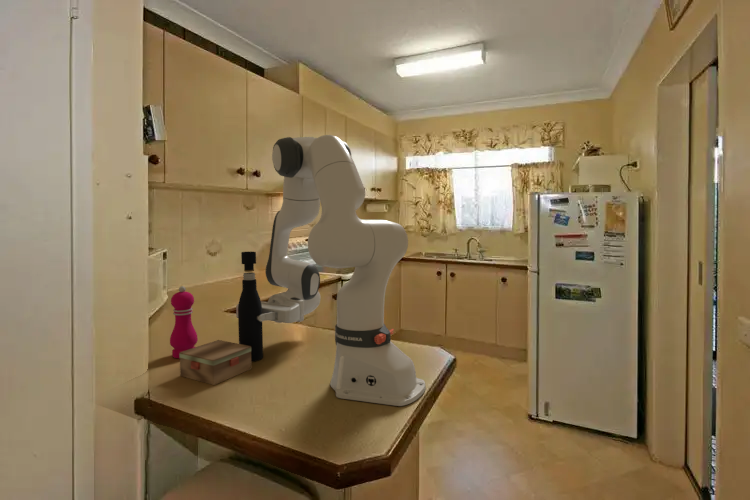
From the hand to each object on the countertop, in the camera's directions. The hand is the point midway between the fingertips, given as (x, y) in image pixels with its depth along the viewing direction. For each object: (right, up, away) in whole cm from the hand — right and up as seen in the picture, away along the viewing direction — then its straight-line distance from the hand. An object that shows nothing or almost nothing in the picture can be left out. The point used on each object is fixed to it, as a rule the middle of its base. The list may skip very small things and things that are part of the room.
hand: (248, 316), depth 113 cm
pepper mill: (-20, -12, +4) cm, 23 cm away
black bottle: (0, -12, +2) cm, 12 cm away
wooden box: (-5, -13, -9) cm, 16 cm away
